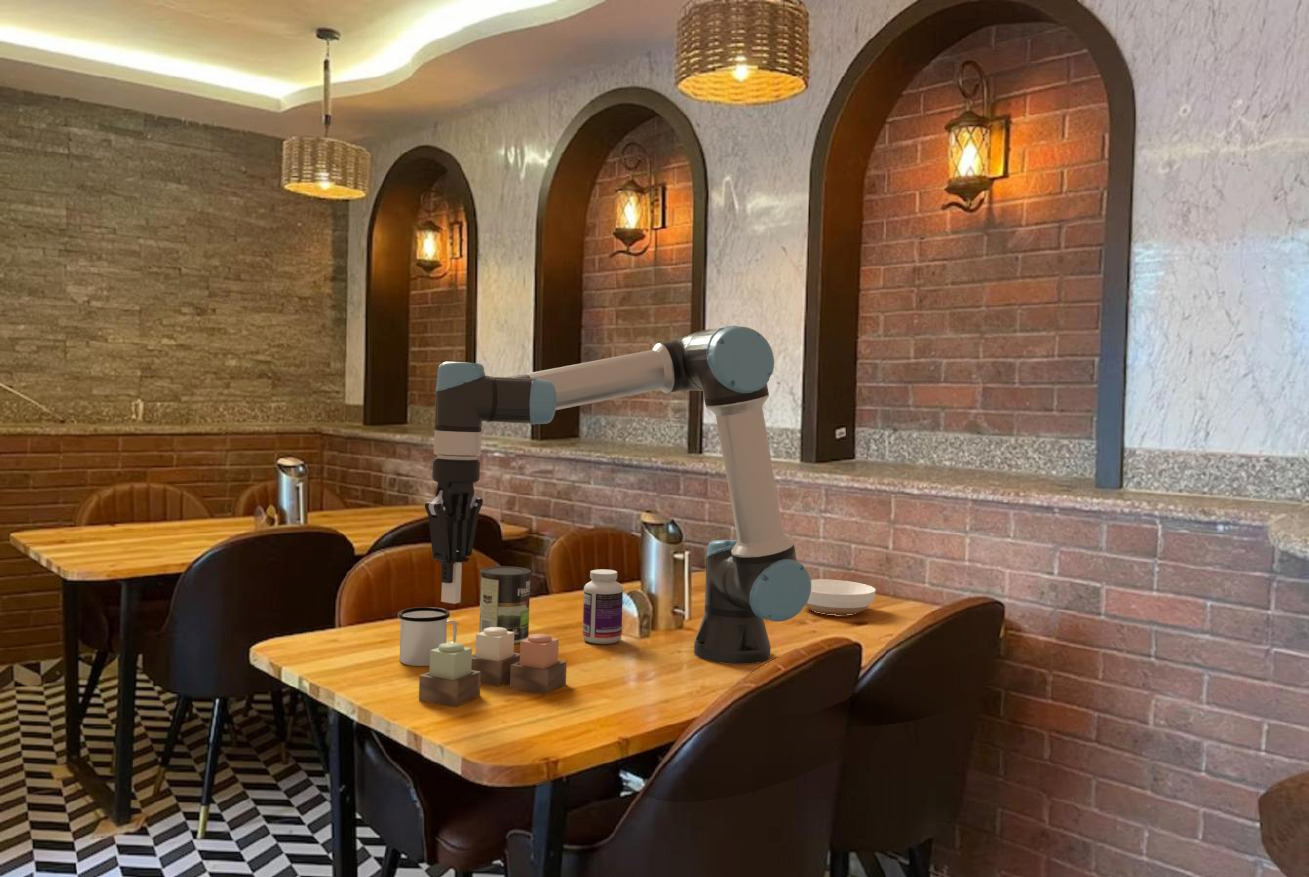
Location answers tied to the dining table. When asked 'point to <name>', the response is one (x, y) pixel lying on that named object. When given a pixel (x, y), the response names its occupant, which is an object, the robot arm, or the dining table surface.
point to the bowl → (839, 597)
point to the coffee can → (505, 600)
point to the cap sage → (450, 661)
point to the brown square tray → (449, 689)
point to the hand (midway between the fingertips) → (450, 601)
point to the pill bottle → (602, 608)
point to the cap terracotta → (539, 651)
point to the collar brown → (538, 677)
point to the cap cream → (494, 644)
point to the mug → (423, 633)
